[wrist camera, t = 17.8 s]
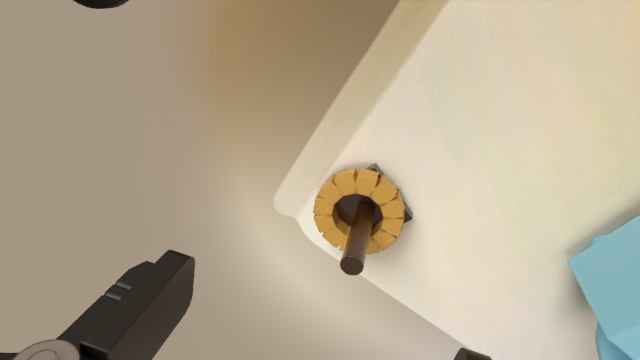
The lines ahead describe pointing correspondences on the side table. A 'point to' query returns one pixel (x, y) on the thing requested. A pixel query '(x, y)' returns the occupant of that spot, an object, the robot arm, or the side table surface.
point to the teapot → (613, 290)
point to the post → (360, 226)
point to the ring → (367, 186)
